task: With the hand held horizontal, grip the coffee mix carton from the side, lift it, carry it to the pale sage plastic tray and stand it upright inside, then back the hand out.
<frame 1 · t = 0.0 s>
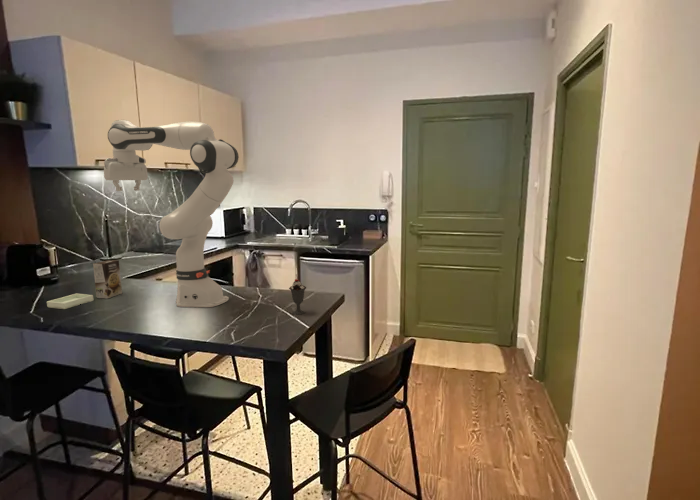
hand: (128, 190, 183), 48 cm above the countertop, tool pointing down, fingers open, 8 cm apart
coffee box: (109, 296, 191), on the countertop
tray: (71, 303, 179), on the countertop
sundae: (298, 313, 162), on the countertop
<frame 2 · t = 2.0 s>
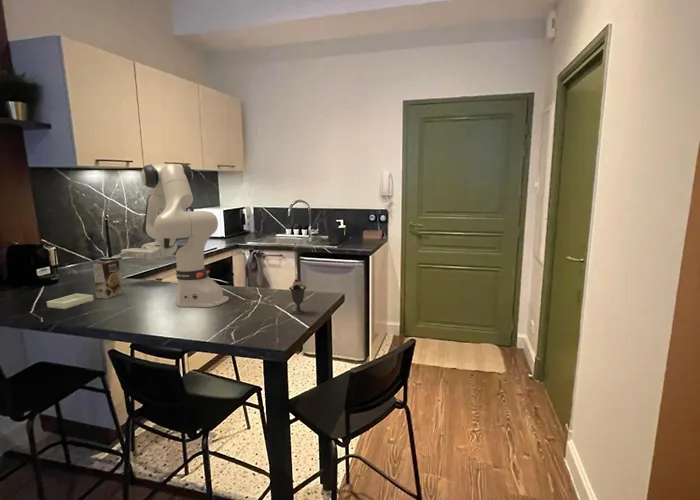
hand: (127, 256, 200), 16 cm above the countertop, tool horizontal, fingers open, 8 cm apart
nothing on the countertop moved.
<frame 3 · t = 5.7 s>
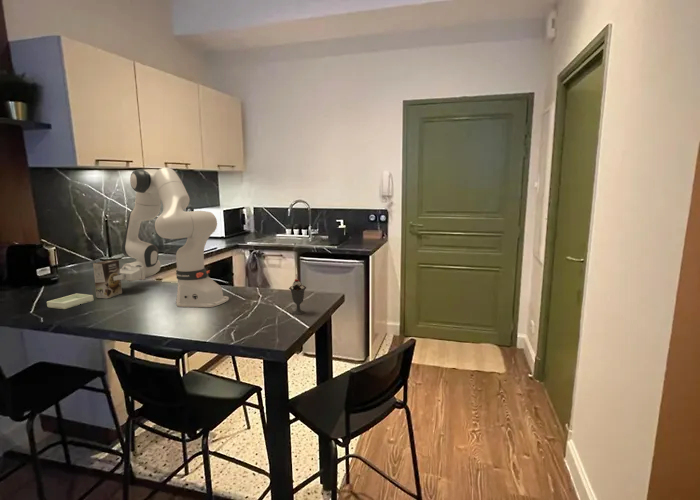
hand: (106, 278, 189), 9 cm above the countertop, tool horizontal, fingers closed on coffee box, 7 cm apart
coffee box: (109, 296, 191), on the countertop, touching gripper
everything else where it was.
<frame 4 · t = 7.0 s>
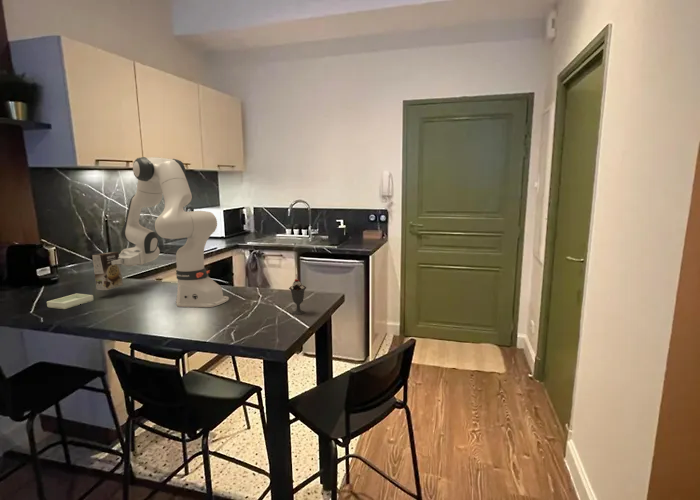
hand: (104, 262, 188), 16 cm above the countertop, tool horizontal, fingers closed on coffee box, 6 cm apart
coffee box: (110, 288, 190), point 4 cm above the countertop, touching gripper
everything else where it was.
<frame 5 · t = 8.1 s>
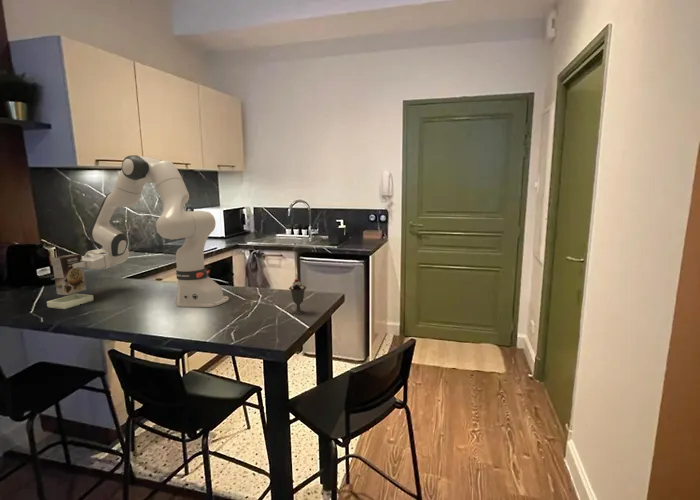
hand: (65, 265, 176), 17 cm above the countertop, tool horizontal, fingers closed on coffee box, 6 cm apart
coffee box: (72, 292, 179), point 5 cm above the countertop, touching gripper
everything else where it was.
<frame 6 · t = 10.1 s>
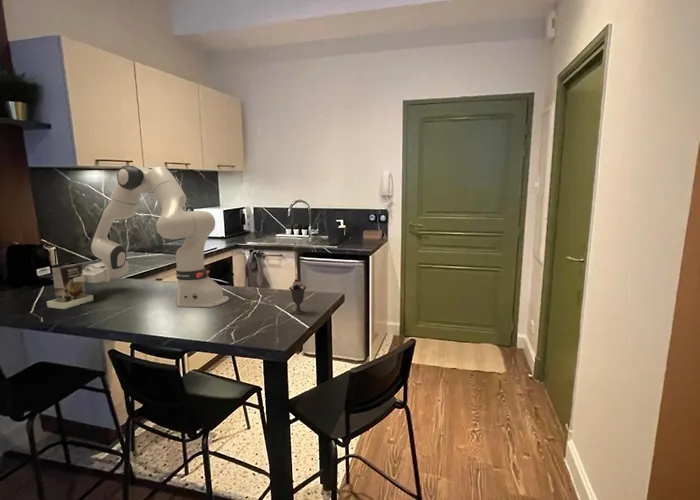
hand: (65, 279, 176), 11 cm above the countertop, tool horizontal, fingers closed on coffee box, 6 cm apart
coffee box: (72, 302, 179), resting on tray, touching gripper
everything else where it was.
when the fingers open (11 cm above the countertop, at t = 10.2 s): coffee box stays where it is, resting on tray.
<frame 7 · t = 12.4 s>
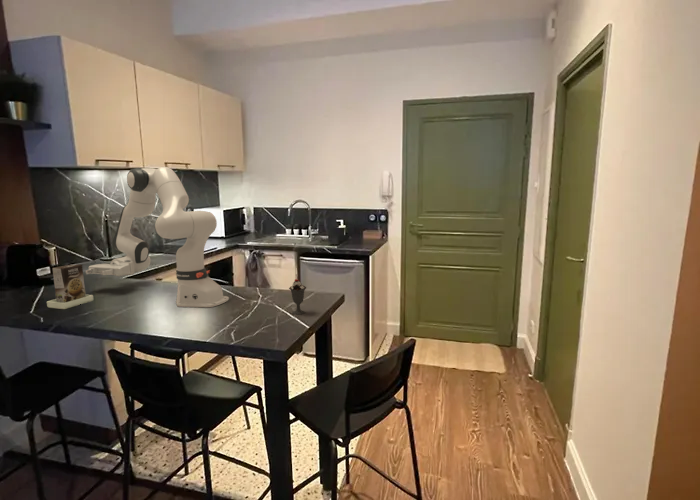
hand: (94, 272, 188), 11 cm above the countertop, tool horizontal, fingers open, 8 cm apart
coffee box: (72, 302, 179), resting on tray
everything else where it was.
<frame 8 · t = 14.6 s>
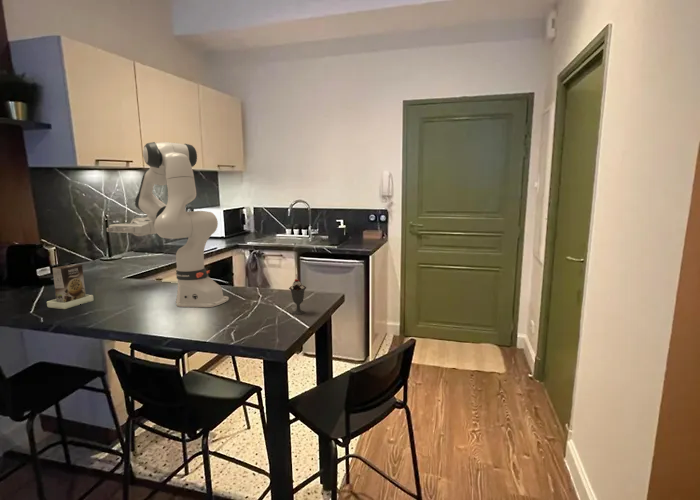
hand: (115, 230, 190), 30 cm above the countertop, tool horizontal, fingers open, 8 cm apart
nothing on the countertop moved.
at the end: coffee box inside the target area on the tray (0.4 cm from its centre), point 0.4 cm above the tray's base; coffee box tilted 0°; the gripper is holding nothing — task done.
